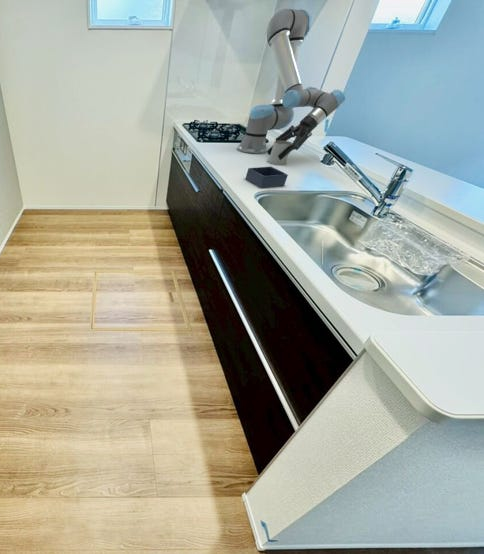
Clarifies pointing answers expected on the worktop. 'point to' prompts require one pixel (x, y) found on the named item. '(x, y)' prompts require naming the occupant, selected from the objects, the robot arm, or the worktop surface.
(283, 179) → the dark navy open box
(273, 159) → the cup
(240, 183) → the worktop surface
